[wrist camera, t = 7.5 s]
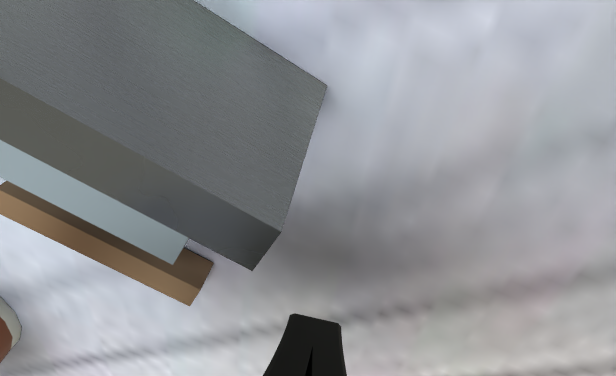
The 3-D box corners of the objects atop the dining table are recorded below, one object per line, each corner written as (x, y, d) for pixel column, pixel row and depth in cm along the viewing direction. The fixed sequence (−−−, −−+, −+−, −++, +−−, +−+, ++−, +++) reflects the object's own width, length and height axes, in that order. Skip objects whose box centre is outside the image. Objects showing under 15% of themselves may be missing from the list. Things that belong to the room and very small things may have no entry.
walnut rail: (213, 263, 16) (200, 289, 15) (203, 279, 17) (189, 306, 16) (27, 167, 15) (-5, 188, 14) (23, 188, 16) (-8, 210, 14)
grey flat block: (327, 85, 12) (281, 231, 6) (310, 112, 12) (252, 271, 6) (70, -78, 10) (-333, -104, 4) (64, -40, 11) (-305, -19, 5)
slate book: (276, 87, 12) (251, 125, 10) (204, 212, 15) (172, 264, 13) (29, -68, 11) (-74, -71, 8) (5, 103, 14) (-75, 139, 11)
